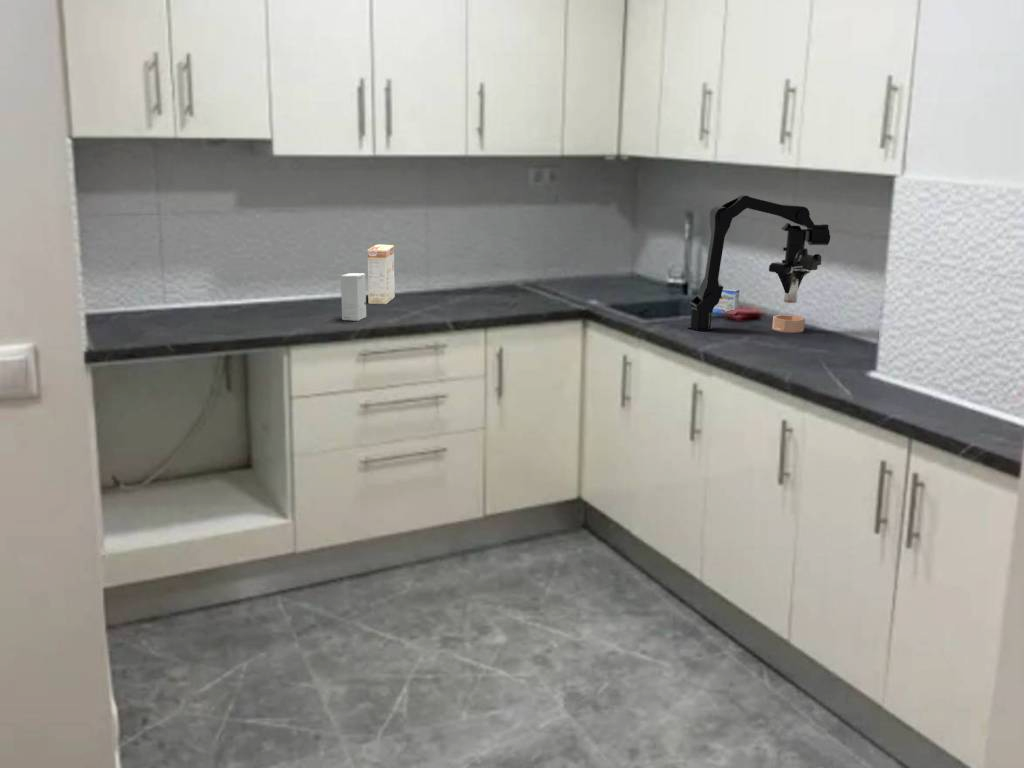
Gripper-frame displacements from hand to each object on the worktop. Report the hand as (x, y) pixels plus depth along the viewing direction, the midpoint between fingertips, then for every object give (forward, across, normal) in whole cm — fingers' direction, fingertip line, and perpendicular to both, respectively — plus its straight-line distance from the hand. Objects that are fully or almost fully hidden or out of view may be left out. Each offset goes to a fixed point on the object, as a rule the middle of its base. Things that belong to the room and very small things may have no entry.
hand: (791, 292), depth 340 cm
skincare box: (+13, -109, +93) cm, 144 cm away
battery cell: (+3, 0, 0) cm, 3 cm away
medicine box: (+13, +6, +31) cm, 34 cm away
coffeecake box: (+13, -82, +117) cm, 144 cm away
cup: (+12, 0, 0) cm, 12 cm away
